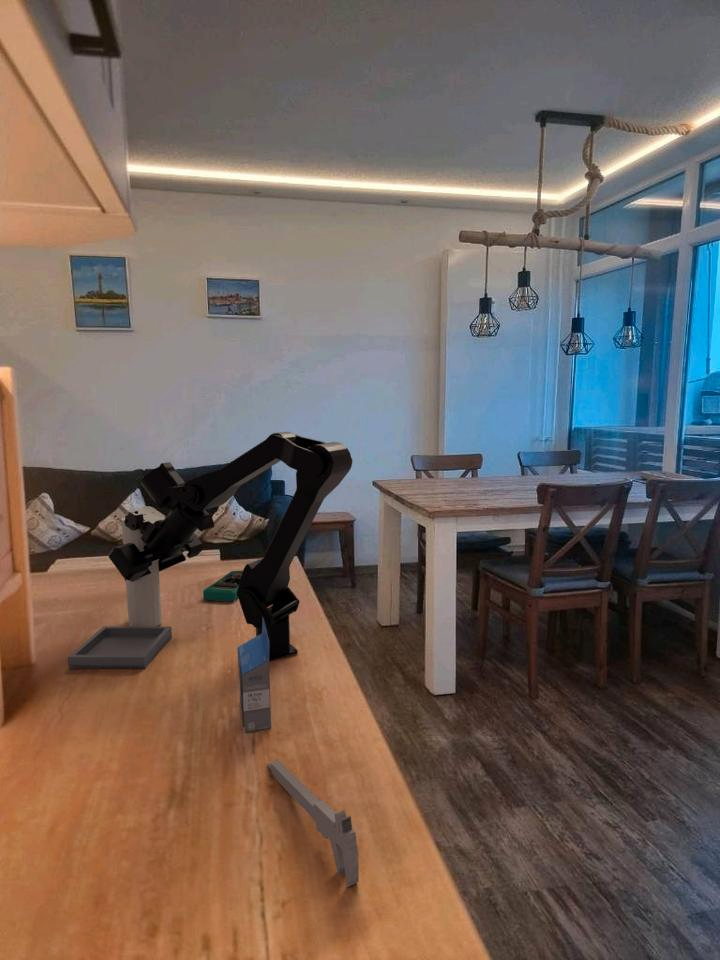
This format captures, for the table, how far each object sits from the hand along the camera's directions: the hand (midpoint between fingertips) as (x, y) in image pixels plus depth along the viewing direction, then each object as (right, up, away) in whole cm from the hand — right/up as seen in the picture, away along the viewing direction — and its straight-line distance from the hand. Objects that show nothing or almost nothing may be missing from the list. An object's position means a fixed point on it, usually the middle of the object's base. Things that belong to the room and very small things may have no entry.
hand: (137, 577), depth 112 cm
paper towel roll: (+1, -9, +1) cm, 9 cm away
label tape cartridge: (+28, -14, -32) cm, 45 cm away
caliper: (+37, -17, -51) cm, 66 cm away
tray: (+2, -11, -12) cm, 16 cm away
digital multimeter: (+14, -7, +20) cm, 25 cm away
